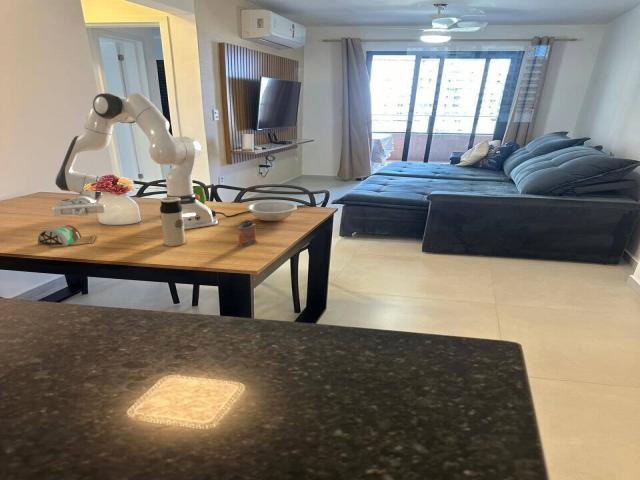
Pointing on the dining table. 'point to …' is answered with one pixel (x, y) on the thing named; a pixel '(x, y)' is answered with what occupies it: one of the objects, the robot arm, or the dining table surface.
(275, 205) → the soup bowl
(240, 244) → the red tin
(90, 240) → the cork pad
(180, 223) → the travel mug
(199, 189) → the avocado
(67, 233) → the food container
